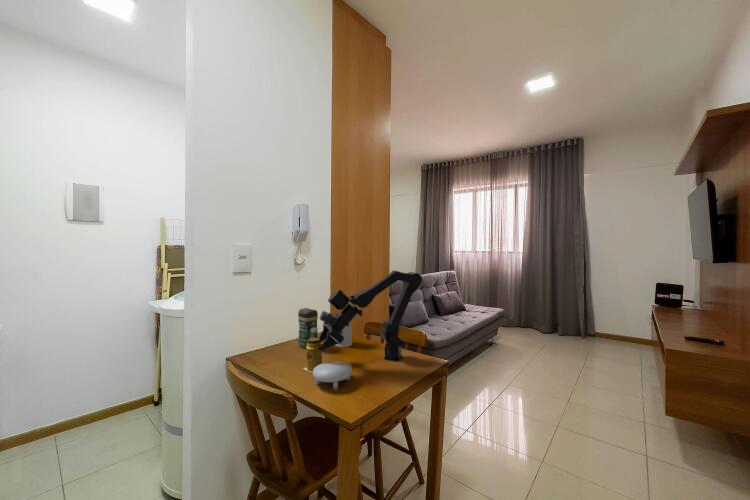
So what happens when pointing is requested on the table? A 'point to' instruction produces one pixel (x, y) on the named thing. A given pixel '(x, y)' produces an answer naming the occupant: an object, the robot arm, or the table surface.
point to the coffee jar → (307, 325)
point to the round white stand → (332, 373)
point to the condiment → (313, 354)
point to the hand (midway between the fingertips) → (318, 346)
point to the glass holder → (346, 337)
